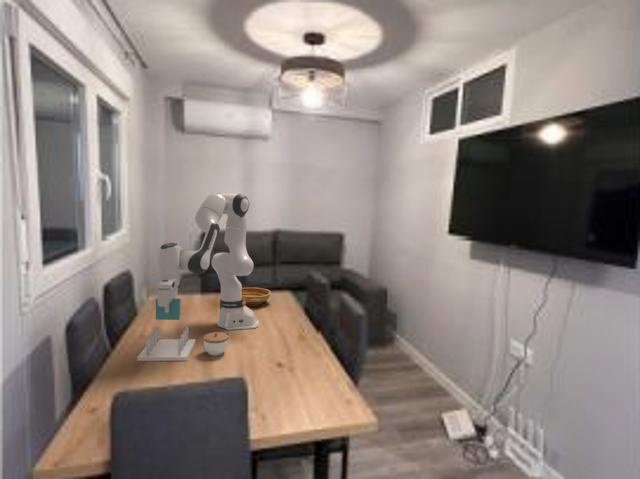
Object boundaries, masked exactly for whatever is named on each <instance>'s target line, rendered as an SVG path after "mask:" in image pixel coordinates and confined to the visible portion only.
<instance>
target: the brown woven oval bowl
mask: <svg viewBox="0 0 640 479" xmlns="http://www.w3.org/2000/svg"><path fill="white" fill-rule="evenodd" d="M271 294H272V291H271V290H269V289H268V288H263V287H242V299H243V300H244V299H245V302H246V304H245V306H246V307H257V306H261V304H262V303H264V302H267V301H268V300H269V298H270V296H271Z"/></svg>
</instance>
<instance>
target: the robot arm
mask: <svg viewBox="0 0 640 479" xmlns="http://www.w3.org/2000/svg"><path fill="white" fill-rule="evenodd" d="M249 208H250V201H249V198H248V197H247V196H246V195H244V194H241V193H238V194H237V193H232V192H226V193H223V192H222V193H221V192H216V193H215V192H214V193H211V194H209V195H208V196H206V198H205V199H204V201H202V203H201V204H200V207H199V208H198V210H197V212H196V214H195V217H194V221H195V224H196V226H197V227H198V228H199V229H200V230H201V231H203V233H204V236H203V240H202V242H201V245H200V248H199V249H198V250H191V249H187V248H183V247H182V246H180V245H179V244H178V243H175V242H168V243H164V244H162V245H161V246H160V247H159V250H158V256H157V259H158V260H157V265H158V273H157V282H156V283H155V289H156V290H157V291H156V294H157V295H156V296H157V298H158V305H159V307H164V308H165V313H169V312H170V308H169V305H170V303H171V302H172V300H173V299H174V298H175V299H176V297H177V296H178V292H179V285H180V271H184V272H190V273H193V274H196V275H202V274H204V273H205V272H206V271H208V270H209V268H210V265H211V267H212V269H214V271H215V272H216V274H217V277H218V280H219V283H220V299H219V316H218V320H217V323H216V326H218V327H219V328H223V329H225V330H228V331H234V330H250V329H251V330H252V329H257V328H258V327H259V325H260V321H259V319H257V318H256V316H255V312H254V311H253V310H252V309H251V308H249V306H246V305H245V304H246V302H245V299H244V300H243V299H242V288H243V286H242V283H241V282H240V280H239V279H238V278H237V276H238V277H246V276H247V277H248V276H249V275H250V274H251V273H252V272H253V270H254V262H253V260H252V258H251V257H250V256H249V254H248V251H247V250H248V249H247V246H246V245H247V244H246V242H247V228H248V216H247V215H248V214H247V213H248V211H249ZM223 215H226V216H227V218H226V223H225V231H224V232H225V233H224V241H223V242H224V243H225V245H226V246H227V247H228V250H229V253H228V252H218V253H215V254H214V255H213V252H214V251H215V250H214V249H215V246H216V244H217V240H218V238H219V235H220V232H221V231H220V230H221V228H220V225H219V223H220V220H221V218H222V216H223ZM212 255H213V257H212ZM157 298H156V299H157Z"/></svg>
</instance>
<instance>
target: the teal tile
mask: <svg viewBox="0 0 640 479" xmlns="http://www.w3.org/2000/svg"><path fill="white" fill-rule="evenodd" d="M181 304H182V299H181V298H176V297H175V298H174V299H173V300H172V302H171V303H170V305H169V308H170V312H169V313H165V308H164V307H159V305H158V298H156V299H155V320H156V321H157V320H158V321H159V320H160V321H161V320H163V321H164V320H165V321H168V320H169V321H180V320H181V317H182V316H181V313H182V312H181V311H182V310H181V309H182V305H181Z"/></svg>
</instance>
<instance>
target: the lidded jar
mask: <svg viewBox="0 0 640 479" xmlns="http://www.w3.org/2000/svg"><path fill="white" fill-rule="evenodd" d="M228 341H229V335H228V334H227V333H225V332H221V331H220V332H219V331H215V332H208V333H206V334H204V335H203V346H204V349H205V351H206V353H207V354H208V355H209V356H212V357H213V356H215V357H216V356H220V355H222V354H223V353H224V352H225V351H226V350H227V347H228V343H229V342H228Z"/></svg>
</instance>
